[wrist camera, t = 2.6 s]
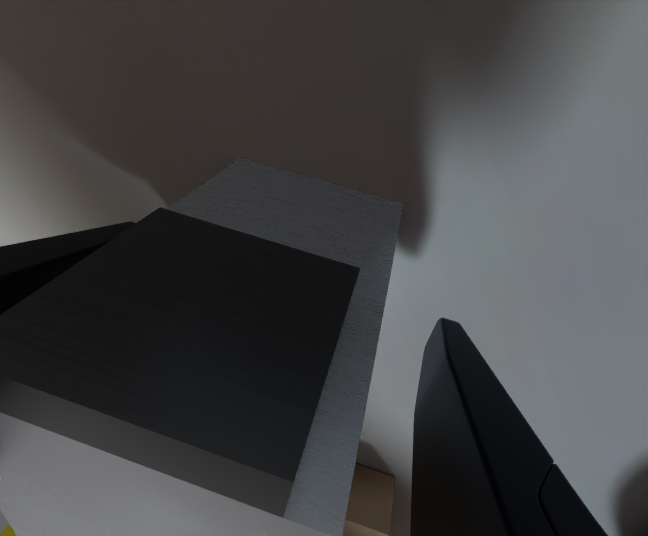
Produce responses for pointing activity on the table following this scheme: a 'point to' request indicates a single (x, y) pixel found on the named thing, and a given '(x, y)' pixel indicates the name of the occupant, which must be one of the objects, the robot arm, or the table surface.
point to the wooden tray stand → (356, 504)
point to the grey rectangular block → (201, 366)
